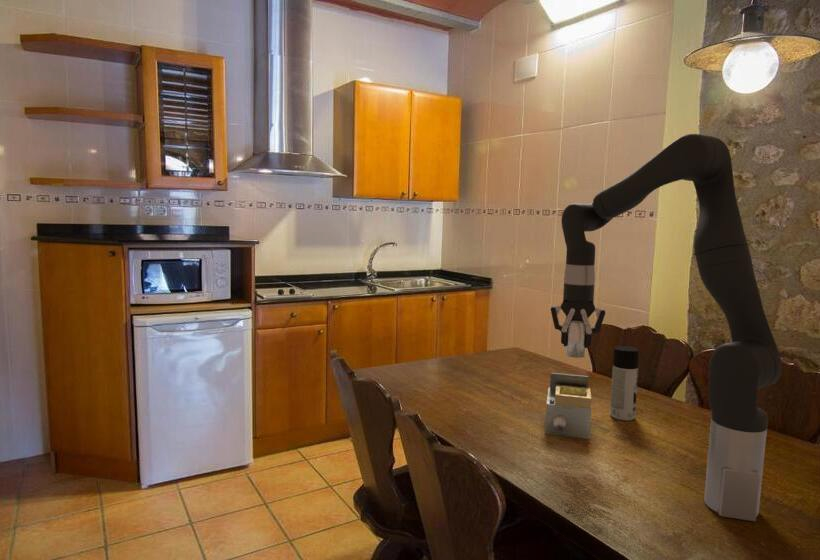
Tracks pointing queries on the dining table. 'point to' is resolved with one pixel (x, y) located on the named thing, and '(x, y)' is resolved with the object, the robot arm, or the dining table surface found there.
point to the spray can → (624, 383)
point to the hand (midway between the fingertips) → (575, 346)
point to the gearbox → (568, 406)
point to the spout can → (576, 339)
